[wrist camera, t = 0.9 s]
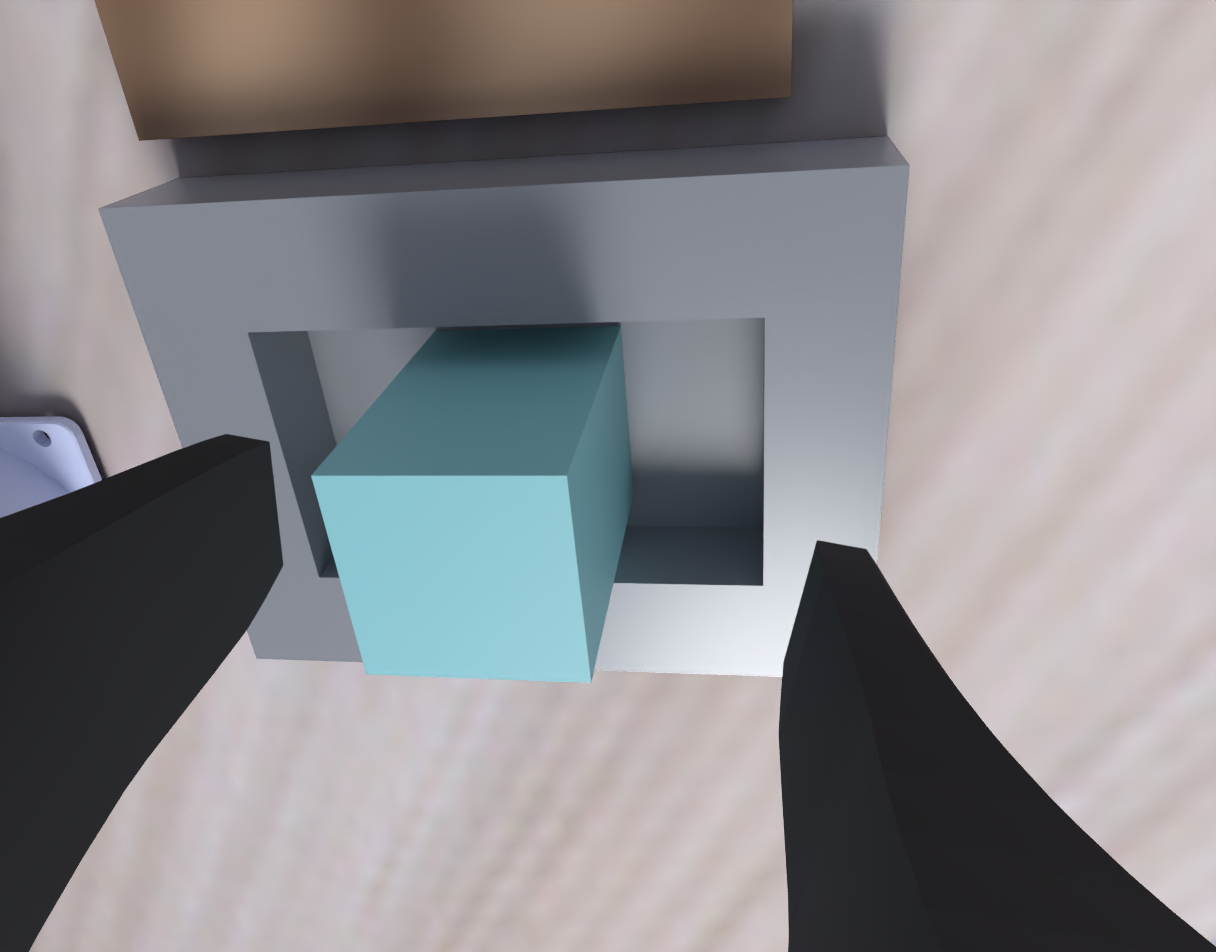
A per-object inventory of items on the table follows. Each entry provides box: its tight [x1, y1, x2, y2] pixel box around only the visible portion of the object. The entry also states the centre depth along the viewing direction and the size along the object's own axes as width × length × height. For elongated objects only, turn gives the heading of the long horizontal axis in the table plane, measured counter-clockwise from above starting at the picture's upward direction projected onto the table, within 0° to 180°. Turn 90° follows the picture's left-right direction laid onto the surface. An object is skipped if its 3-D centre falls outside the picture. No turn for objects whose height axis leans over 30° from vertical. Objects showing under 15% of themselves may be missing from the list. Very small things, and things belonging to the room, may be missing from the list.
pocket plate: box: [99, 136, 909, 677], centre depth 21 cm, size 16×12×3 cm
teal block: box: [311, 326, 634, 683], centre depth 19 cm, size 4×4×7 cm
